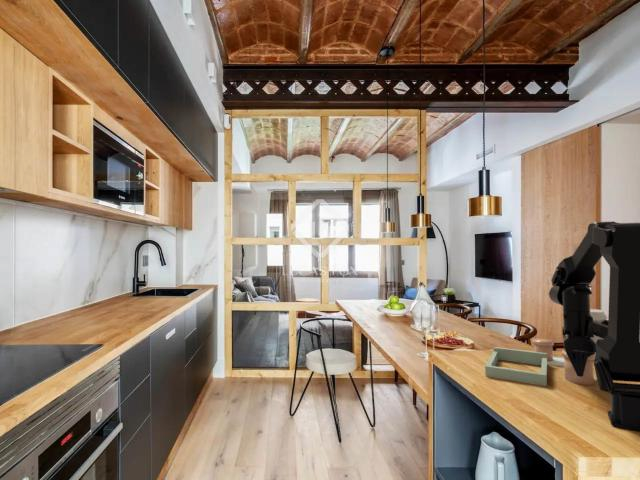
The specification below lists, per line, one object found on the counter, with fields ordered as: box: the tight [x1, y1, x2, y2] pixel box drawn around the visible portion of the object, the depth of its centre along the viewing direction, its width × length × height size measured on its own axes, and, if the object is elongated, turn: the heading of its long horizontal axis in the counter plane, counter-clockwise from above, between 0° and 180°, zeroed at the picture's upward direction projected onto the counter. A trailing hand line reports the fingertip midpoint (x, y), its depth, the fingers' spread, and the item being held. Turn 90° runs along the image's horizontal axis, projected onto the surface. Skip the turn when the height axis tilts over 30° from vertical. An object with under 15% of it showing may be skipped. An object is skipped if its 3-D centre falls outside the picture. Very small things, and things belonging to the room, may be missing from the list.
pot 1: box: [532, 337, 555, 361], centre depth 109 cm, size 6×6×6 cm
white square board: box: [547, 355, 565, 368], centre depth 108 cm, size 10×12×1 cm
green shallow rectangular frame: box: [484, 346, 548, 387], centre depth 99 cm, size 18×14×4 cm
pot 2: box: [561, 348, 595, 386], centre depth 91 cm, size 7×7×8 cm
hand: (578, 370), depth 91 cm, fingers open, 9 cm apart
